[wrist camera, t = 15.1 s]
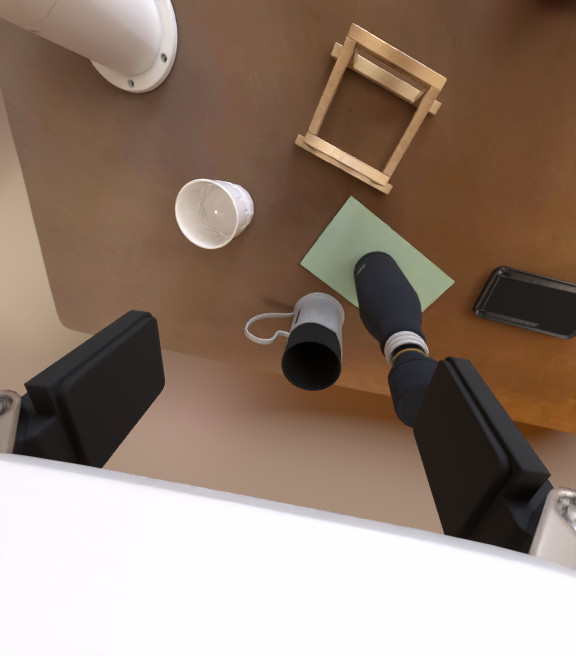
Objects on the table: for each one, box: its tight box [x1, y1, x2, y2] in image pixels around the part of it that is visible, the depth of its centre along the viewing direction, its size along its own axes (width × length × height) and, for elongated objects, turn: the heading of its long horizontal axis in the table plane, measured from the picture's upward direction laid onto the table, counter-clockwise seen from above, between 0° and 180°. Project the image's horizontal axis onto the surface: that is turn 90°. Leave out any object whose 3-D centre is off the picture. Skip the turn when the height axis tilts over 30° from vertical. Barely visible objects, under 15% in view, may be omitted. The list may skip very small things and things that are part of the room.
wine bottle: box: [354, 251, 438, 428], centre depth 32 cm, size 6×6×30 cm
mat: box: [300, 196, 455, 312], centre depth 45 cm, size 20×12×1 cm, turn 54°
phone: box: [473, 267, 576, 339], centre depth 43 cm, size 8×1×15 cm
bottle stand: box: [295, 23, 447, 195], centre depth 33 cm, size 14×11×9 cm
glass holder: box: [244, 293, 344, 391], centre depth 44 cm, size 9×14×15 cm, turn 71°
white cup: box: [175, 179, 254, 249], centre depth 40 cm, size 8×8×10 cm
